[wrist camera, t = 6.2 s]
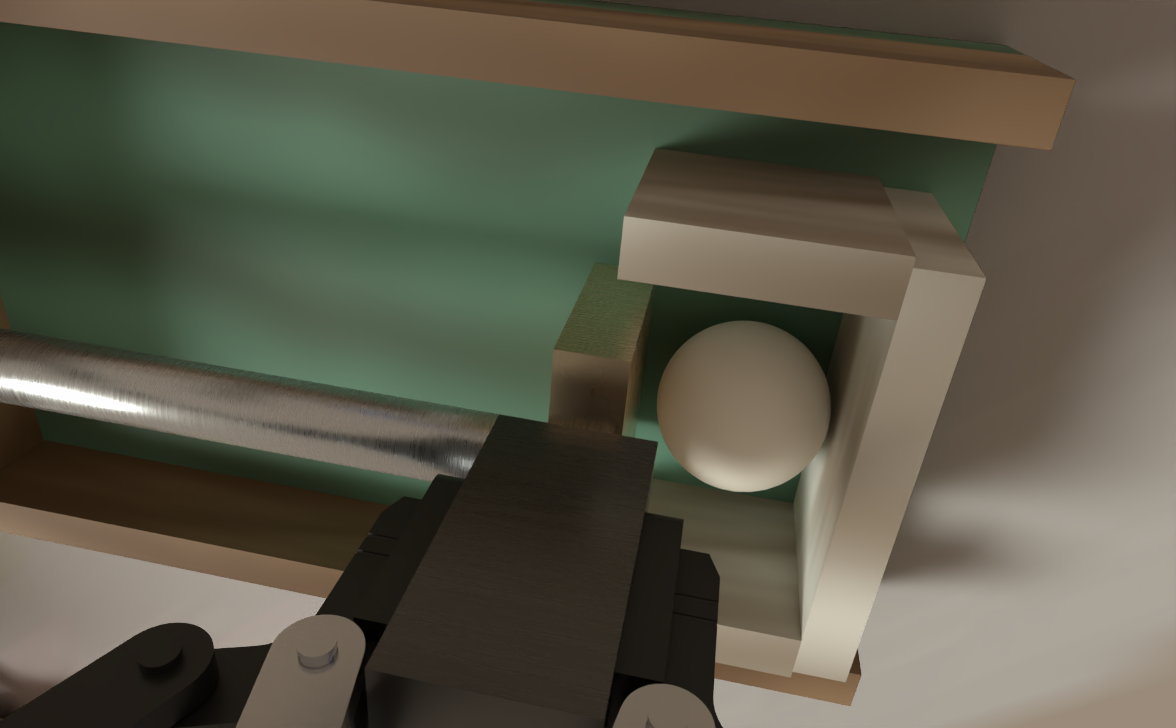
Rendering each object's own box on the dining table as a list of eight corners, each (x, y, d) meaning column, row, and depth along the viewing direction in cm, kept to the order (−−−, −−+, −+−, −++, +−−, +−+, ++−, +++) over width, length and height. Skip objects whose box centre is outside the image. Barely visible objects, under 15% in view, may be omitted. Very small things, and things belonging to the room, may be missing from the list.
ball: (757, 281, 21) (632, 311, 18) (887, 349, 18) (758, 393, 16) (730, 414, 23) (615, 455, 20) (844, 494, 20) (724, 551, 18)
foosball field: (-122, -78, 21) (-676, -78, 13) (1006, 45, 18) (1215, 149, 10) (32, 434, 29) (-252, 635, 21) (836, 586, 26) (872, 896, 17)
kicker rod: (-145, 152, 22) (-908, 348, 12) (688, 275, 19) (612, 662, 9) (-85, 319, 24) (-677, 598, 14) (662, 449, 22) (578, 904, 12)
